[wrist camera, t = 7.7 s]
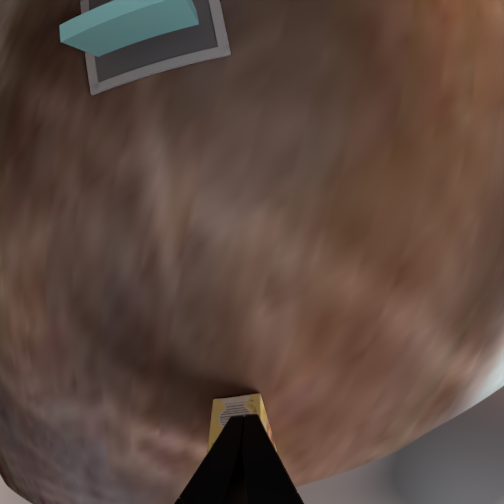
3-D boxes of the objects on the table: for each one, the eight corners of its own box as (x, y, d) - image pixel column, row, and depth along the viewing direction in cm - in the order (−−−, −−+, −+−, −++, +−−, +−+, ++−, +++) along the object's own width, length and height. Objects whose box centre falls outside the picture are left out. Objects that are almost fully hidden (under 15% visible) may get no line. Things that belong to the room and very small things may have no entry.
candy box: (210, 396, 24) (188, 576, 10) (262, 390, 24) (268, 577, 10) (237, 454, 27) (232, 593, 13) (280, 449, 27) (289, 591, 13)
